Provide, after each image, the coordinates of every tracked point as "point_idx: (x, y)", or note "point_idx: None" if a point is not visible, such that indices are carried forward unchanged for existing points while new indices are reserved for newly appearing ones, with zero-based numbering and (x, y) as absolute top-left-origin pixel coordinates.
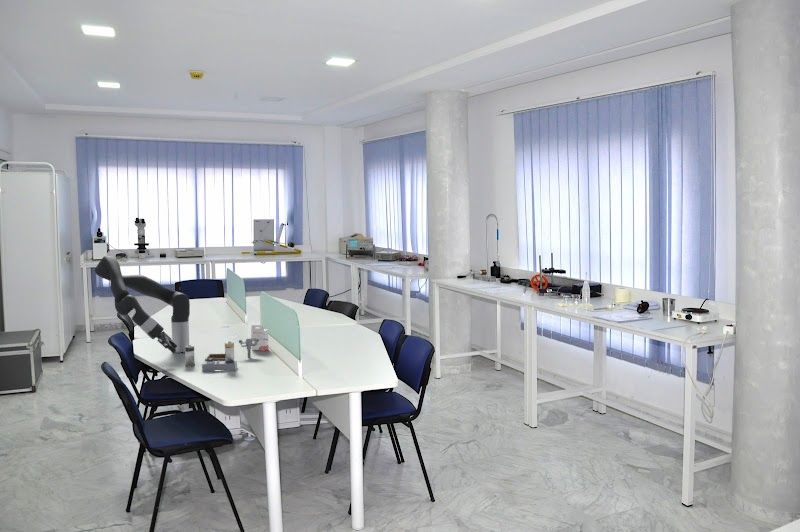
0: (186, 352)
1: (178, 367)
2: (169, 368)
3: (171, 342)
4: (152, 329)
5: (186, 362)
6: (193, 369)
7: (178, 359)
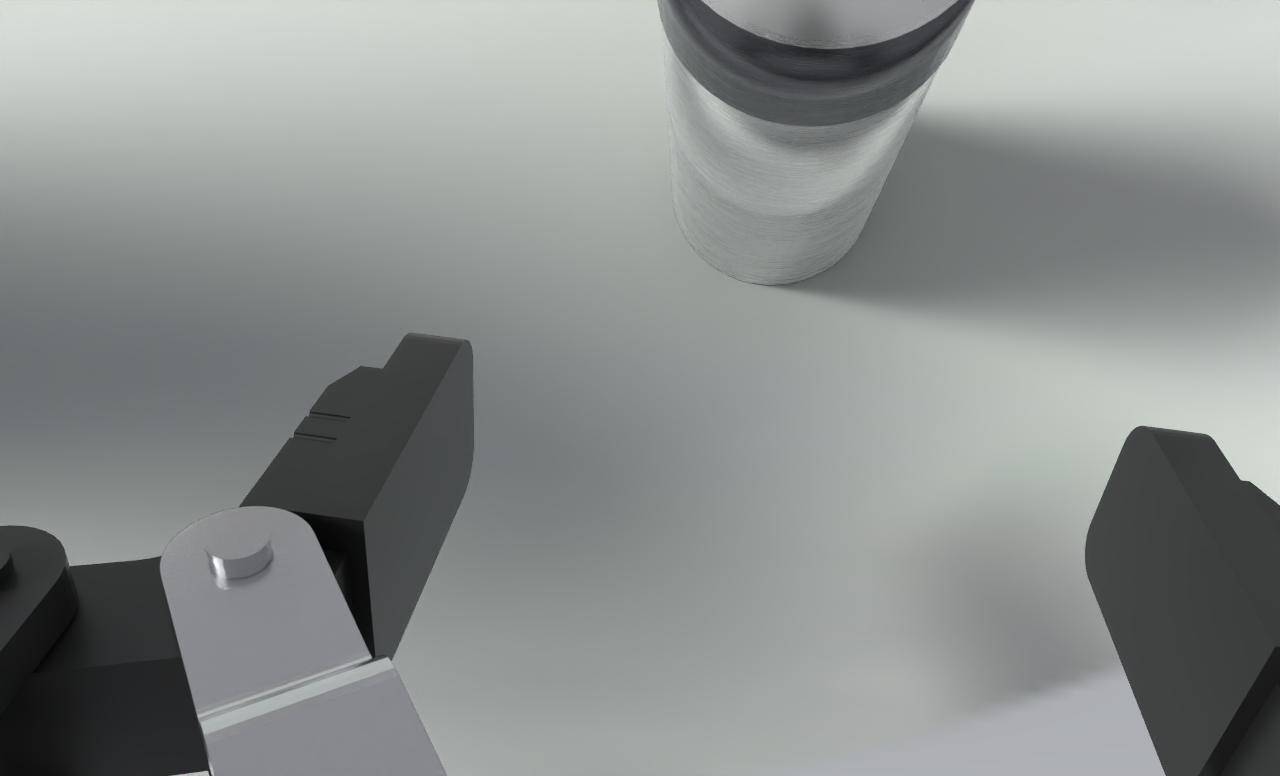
0: (899, 109)
1: (868, 451)
2: (892, 663)
3: (373, 562)
4: None
5: (838, 238)
6: (1179, 152)
7: (71, 392)
